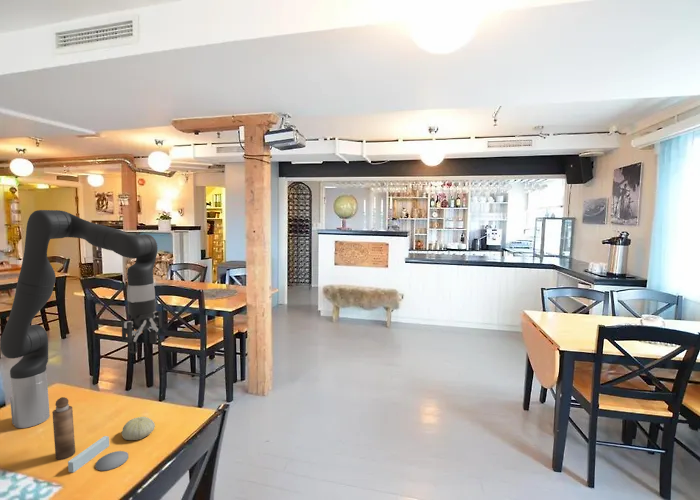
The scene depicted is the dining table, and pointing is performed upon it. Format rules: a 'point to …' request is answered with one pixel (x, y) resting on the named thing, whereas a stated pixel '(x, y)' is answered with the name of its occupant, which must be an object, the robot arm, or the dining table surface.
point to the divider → (88, 454)
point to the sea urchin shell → (137, 428)
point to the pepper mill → (63, 429)
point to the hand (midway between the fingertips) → (143, 347)
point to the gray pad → (111, 460)
